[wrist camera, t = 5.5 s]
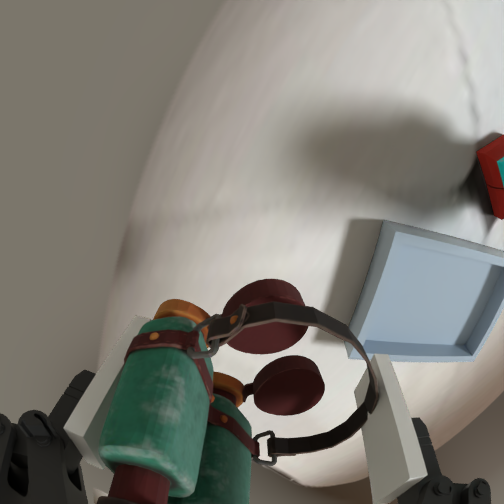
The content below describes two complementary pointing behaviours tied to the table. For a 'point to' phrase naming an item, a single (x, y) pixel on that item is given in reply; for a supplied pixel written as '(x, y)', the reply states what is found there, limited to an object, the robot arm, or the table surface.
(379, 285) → the light blue rectangular tray
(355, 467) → the table surface
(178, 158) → the table surface
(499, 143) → the toy robot
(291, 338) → the binoculars
